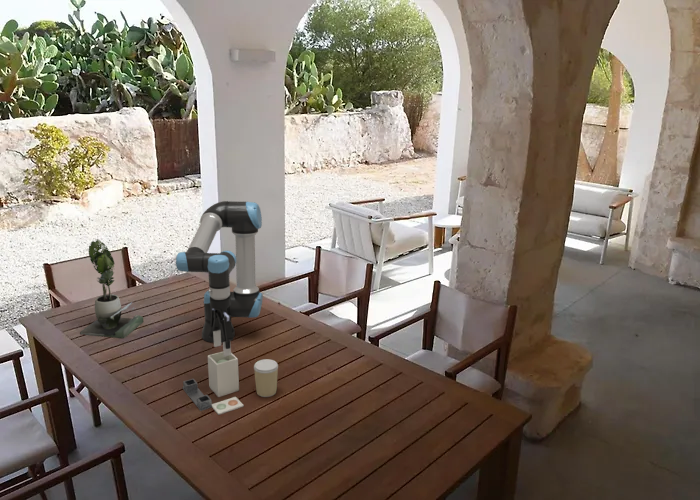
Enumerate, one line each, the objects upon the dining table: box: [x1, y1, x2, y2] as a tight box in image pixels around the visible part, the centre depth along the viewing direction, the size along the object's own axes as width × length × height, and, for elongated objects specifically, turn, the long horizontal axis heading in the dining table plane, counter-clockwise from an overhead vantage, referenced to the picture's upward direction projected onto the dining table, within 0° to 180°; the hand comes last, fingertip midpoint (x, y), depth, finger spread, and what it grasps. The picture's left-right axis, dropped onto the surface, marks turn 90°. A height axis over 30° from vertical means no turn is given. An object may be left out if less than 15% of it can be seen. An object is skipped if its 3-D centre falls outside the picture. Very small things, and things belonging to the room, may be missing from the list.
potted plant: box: [79, 238, 144, 339], centre depth 269 cm, size 22×19×45 cm
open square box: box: [207, 351, 240, 398], centre depth 224 cm, size 9×9×14 cm
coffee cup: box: [253, 358, 279, 398], centre depth 223 cm, size 9×9×12 cm
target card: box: [211, 396, 245, 415], centre depth 215 cm, size 10×7×1 cm
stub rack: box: [182, 378, 213, 412], centre depth 220 cm, size 5×19×3 cm, turn 36°
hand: (222, 350), depth 221 cm, fingers open, 8 cm apart
